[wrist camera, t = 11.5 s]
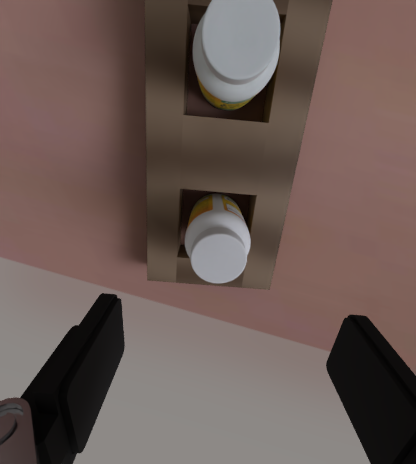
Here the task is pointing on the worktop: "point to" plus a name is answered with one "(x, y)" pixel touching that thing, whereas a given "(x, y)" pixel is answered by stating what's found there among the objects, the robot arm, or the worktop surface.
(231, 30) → the supplement bottle
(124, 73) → the worktop surface
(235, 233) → the supplement bottle
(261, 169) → the bottle rack
